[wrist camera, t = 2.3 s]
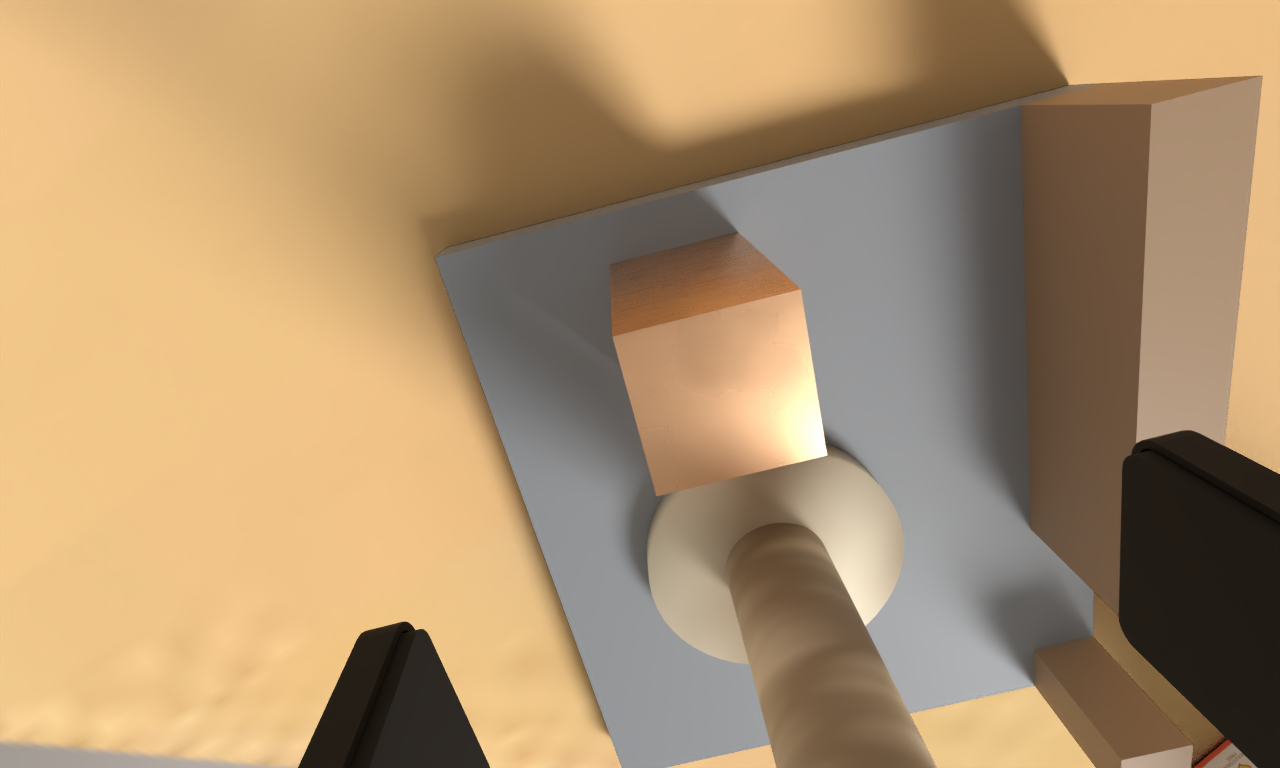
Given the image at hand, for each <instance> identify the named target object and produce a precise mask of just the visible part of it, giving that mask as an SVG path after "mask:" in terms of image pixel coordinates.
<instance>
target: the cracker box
mask: <svg viewBox="0 0 1280 768" xmlns="http://www.w3.org/2000/svg"><path fill="white" fill-rule="evenodd" d="M1193 768H1257V767H1256V766H1255V765H1254V764H1253V763H1252V762H1251V761H1250V760H1249V759H1248V758H1247V757H1246V756H1245V755H1244V754H1243V753H1242V752H1241V751H1240V750H1239V749H1238V748H1236V747H1235V746H1234V745H1233V744H1232V743H1231V742H1230V741H1229V740H1228V739H1227V740H1226V741H1225V742H1224V743H1222V744H1221V745H1220V746H1219V747H1218V748H1217V749H1215V750H1214V751H1213V752H1212V753H1211V754H1210V755H1208V756H1207V757H1206V758H1204V759H1203V760H1202V761H1201V762H1200V763H1198V764H1197V765H1196V766H1195V767H1193Z"/></svg>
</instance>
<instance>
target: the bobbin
mask: <svg viewBox="0 0 1280 768" xmlns="http://www.w3.org/2000/svg"><path fill="white" fill-rule="evenodd" d="M825 445H826V452H827V456H823V457H819V458H815V459H810V460H806V461H802V462H798V463H794V464H790V465H785V466H781V467H777V468H773V469H769V470H765V471H760V472H756V473H752V474H748V475H744V476H740V477H735V478H731V479H727V480H723V481H719V482H715V483H710V484H706V485H702V486H698V487H694V488H690V489H685V490H681V491H677V492H673V493H669V494H665V495H664V496H663V498H662V500H661V501H660V503H659V505H658V506H657V508H656V511H655V513H654V515H653V518H652V520H651V524H650V528H649V532H648V537H647V547H646V549H647V565H648V575H649V584H650V588H651V593H652V597H653V599H654V602H655V604H656V607H657V609H658V611H659V612H660V614H661V616H662V618H663V619H664V621H665V622H666V623H667V624H668V626H669V627H670V628H671V629H672V630H673V631H674V632H675V633H676V634H677V635H678V636H679V637H680V638H681V639H682V640H684V641H685V642H687V643H688V644H690V645H691V646H692V647H694V648H696V649H698V650H700V651H702V652H704V653H706V654H708V655H710V656H713V657H716V658H719V659H722V660H726V661H730V662H734V663H741V664H748V665H750V668H751V672H752V676H753V680H754V684H755V687H756V691H757V695H758V699H759V703H760V706H761V710H762V714H763V718H764V721H765V725H766V729H767V733H768V737H769V740H770V744H771V748H772V752H773V756H774V759H775V763H776V767H777V768H937V767H936V765H935V763H934V761H933V759H932V757H931V755H930V753H929V751H928V749H927V747H926V745H925V743H924V741H923V739H922V737H921V735H920V733H919V731H918V729H917V727H916V725H915V723H914V721H913V719H912V717H911V715H910V713H909V711H908V709H907V707H906V705H905V703H904V701H903V699H902V697H901V696H900V694H899V692H898V690H897V688H896V686H895V684H894V682H893V680H892V678H891V676H890V674H889V672H888V670H887V668H886V666H885V664H884V662H883V660H882V658H881V656H880V654H879V652H878V650H877V648H876V646H875V644H874V642H873V640H872V638H871V636H870V634H869V632H868V630H867V628H866V625H867V624H868V623H869V622H870V621H871V620H872V619H873V618H874V617H875V616H876V615H877V614H878V612H879V611H880V610H881V608H882V607H883V606H884V605H885V603H886V602H887V600H888V598H889V597H890V595H891V593H892V592H893V590H894V587H895V585H896V583H897V581H898V578H899V575H900V571H901V568H902V564H903V556H904V535H903V530H902V525H901V522H900V519H899V516H898V514H897V511H896V509H895V507H894V505H893V504H892V502H891V500H890V498H889V497H888V496H887V494H886V493H885V492H884V490H883V489H882V487H881V486H880V485H879V483H878V482H877V481H876V479H875V478H874V477H873V476H872V474H871V473H870V472H869V471H868V470H867V468H865V467H864V466H863V465H862V464H861V463H860V462H859V461H858V460H857V459H855V458H854V457H852V456H851V455H849V454H848V453H846V452H845V451H843V450H841V449H839V448H836V447H834V446H832V445H830V444H827V443H825Z"/></svg>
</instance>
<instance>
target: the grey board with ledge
mask: <svg viewBox="0 0 1280 768" xmlns="http://www.w3.org/2000/svg"><path fill="white" fill-rule="evenodd" d="M1262 77H1263V76H1245V77H1224V78H1204V79H1183V80H1163V81H1142V82H1122V83H1101V84H1080V85H1069V86H1065V87H1061V88H1057V89H1053V90H1049V91H1046V92H1042V93H1038V94H1034V95H1030V96H1026V97H1023V98H1019V99H1015V100H1011V101H1007V102H1003V103H1000V104H996V105H992V106H988V107H984V108H980V109H977V110H973V111H969V112H965V113H961V114H957V115H954V116H950V117H946V118H942V119H938V120H934V121H931V122H927V123H923V124H919V125H915V126H911V127H908V128H904V129H900V130H896V131H892V132H888V133H885V134H881V135H877V136H873V137H869V138H865V139H862V140H858V141H854V142H850V143H846V144H842V145H839V146H835V147H831V148H827V149H823V150H819V151H816V152H812V153H808V154H804V155H800V156H796V157H793V158H789V159H785V160H781V161H777V162H773V163H770V164H766V165H762V166H758V167H754V168H750V169H747V170H743V171H739V172H735V173H731V174H727V175H723V176H720V177H716V178H712V179H708V180H704V181H700V182H697V183H693V184H689V185H685V186H681V187H677V188H674V189H670V190H666V191H662V192H658V193H654V194H651V195H647V196H643V197H639V198H635V199H631V200H628V201H624V202H620V203H616V204H612V205H608V206H605V207H601V208H597V209H593V210H589V211H585V212H582V213H578V214H574V215H570V216H566V217H562V218H559V219H555V220H551V221H547V222H543V223H539V224H536V225H532V226H528V227H524V228H520V229H516V230H513V231H509V232H505V233H501V234H497V235H493V236H490V237H486V238H482V239H478V240H474V241H470V242H467V243H463V244H459V245H455V246H451V247H447V248H445V249H444V250H443V251H441V252H440V253H439V254H438V255H437V256H436V257H435V261H436V263H437V266H438V269H439V272H440V274H441V277H442V280H443V282H444V285H445V288H446V291H447V293H448V296H449V299H450V301H451V304H452V307H453V310H454V312H455V315H456V318H457V321H458V323H459V326H460V329H461V331H462V334H463V337H464V340H465V342H466V345H467V348H468V350H469V353H470V356H471V359H472V361H473V364H474V367H475V370H476V372H477V375H478V378H479V380H480V383H481V386H482V389H483V391H484V394H485V397H486V399H487V402H488V405H489V408H490V410H491V413H492V416H493V418H494V421H495V424H496V427H497V429H498V432H499V435H500V438H501V440H502V443H503V446H504V448H505V451H506V454H507V457H508V459H509V462H510V465H511V467H512V470H513V473H514V476H515V478H516V481H517V484H518V487H519V489H520V492H521V495H522V497H523V500H524V503H525V506H526V508H527V511H528V514H529V516H530V519H531V522H532V525H533V527H534V530H535V533H536V535H537V538H538V541H539V544H540V546H541V549H542V552H543V555H544V557H545V560H546V563H547V565H548V568H549V571H550V574H551V576H552V579H553V582H554V584H555V587H556V590H557V593H558V595H559V598H560V601H561V603H562V606H563V609H564V612H565V614H566V617H567V620H568V623H569V625H570V628H571V631H572V633H573V636H574V639H575V642H576V644H577V647H578V650H579V652H580V655H581V658H582V661H583V663H584V666H585V669H586V672H587V674H588V677H589V680H590V682H591V685H592V688H593V691H594V693H595V696H596V699H597V701H598V704H599V707H600V710H601V712H602V715H603V718H604V720H605V723H606V726H607V729H608V731H609V734H610V737H611V740H612V742H613V745H614V748H615V750H616V753H617V756H618V759H619V761H620V764H621V767H622V768H666V767H670V766H675V765H679V764H684V763H688V762H693V761H697V760H702V759H706V758H711V757H715V756H720V755H724V754H729V753H733V752H738V751H742V750H747V749H751V748H756V747H760V746H765V745H769V744H770V740H769V737H768V733H767V729H766V725H765V721H764V718H763V714H762V710H761V706H760V703H759V699H758V695H757V691H756V687H755V684H754V680H753V676H752V672H751V668H750V665H748V664H741V663H734V662H730V661H726V660H722V659H719V658H716V657H713V656H710V655H708V654H706V653H704V652H702V651H700V650H698V649H696V648H694V647H692V646H691V645H690V644H688V643H687V642H685V641H684V640H682V639H681V638H680V637H679V636H678V635H677V634H676V633H675V632H674V631H673V630H672V629H671V628H670V627H669V626H668V624H667V623H666V622H665V621H664V619H663V618H662V616H661V614H660V612H659V611H658V609H657V607H656V604H655V602H654V599H653V597H652V593H651V588H650V584H649V575H648V565H647V549H646V547H647V537H648V532H649V528H650V524H651V520H652V518H653V515H654V513H655V511H656V508H657V506H658V505H659V503H660V501H661V500H662V498H663V496H664V495H660V496H656V492H655V489H654V485H653V482H652V478H651V474H650V471H649V467H648V464H647V460H646V456H645V453H644V449H643V445H642V442H641V438H640V435H639V431H638V427H637V424H636V420H635V417H634V413H633V409H632V406H631V402H630V399H629V395H628V391H627V388H626V384H625V380H624V377H623V373H622V370H621V366H620V362H619V359H618V355H617V352H616V348H615V344H614V341H613V337H612V316H611V293H610V269H609V264H613V263H617V262H621V261H624V260H628V259H632V258H636V257H640V256H644V255H648V254H652V253H656V252H660V251H663V250H667V249H671V248H675V247H679V246H683V245H687V244H691V243H695V242H698V241H702V240H706V239H710V238H714V237H718V236H722V235H726V234H730V233H734V232H737V231H738V232H739V233H740V234H741V235H742V236H743V237H744V238H746V239H747V240H748V241H749V242H750V243H751V244H752V245H753V246H754V247H755V248H757V249H758V250H759V251H760V252H761V253H762V254H763V255H764V256H765V257H766V258H767V259H769V260H770V261H771V262H772V263H773V264H774V265H775V266H776V267H777V268H778V269H779V270H781V271H782V272H783V273H784V274H785V275H786V276H787V277H788V278H789V279H790V280H792V281H793V282H794V283H795V284H796V285H797V286H798V287H799V288H800V289H801V293H802V299H803V305H804V312H805V318H806V324H807V331H808V337H809V344H810V350H811V356H812V363H813V369H814V375H815V382H816V388H817V395H818V401H819V407H820V414H821V420H822V426H823V433H824V439H825V443H827V444H830V445H832V446H834V447H836V448H839V449H841V450H843V451H845V452H846V453H848V454H849V455H851V456H852V457H854V458H855V459H857V460H858V461H859V462H860V463H861V464H862V465H863V466H864V467H865V468H867V470H868V471H869V472H870V473H871V474H872V476H873V477H874V478H875V479H876V481H877V482H878V483H879V485H880V486H881V487H882V489H883V490H884V492H885V493H886V494H887V496H888V497H889V498H890V500H891V502H892V504H893V505H894V507H895V509H896V511H897V514H898V516H899V519H900V522H901V525H902V530H903V535H904V556H903V564H902V568H901V571H900V575H899V578H898V581H897V583H896V585H895V587H894V590H893V592H892V593H891V595H890V597H889V598H888V600H887V602H886V603H885V605H884V606H883V607H882V608H881V610H880V611H879V612H878V614H877V615H876V616H875V617H874V618H873V619H872V620H871V621H870V622H869V623H868V624H867V625H866V628H867V630H868V632H869V634H870V636H871V638H872V640H873V642H874V644H875V646H876V648H877V650H878V652H879V654H880V656H881V658H882V660H883V662H884V664H885V666H886V668H887V670H888V672H889V674H890V676H891V678H892V680H893V682H894V684H895V686H896V688H897V690H898V692H899V694H900V696H901V697H902V699H903V701H904V703H905V705H906V707H907V709H908V711H909V713H914V712H918V711H923V710H927V709H932V708H936V707H941V706H945V705H950V704H954V703H959V702H964V701H968V700H973V699H977V698H982V697H986V696H991V695H995V694H1000V693H1004V692H1009V691H1013V690H1018V689H1022V688H1027V687H1031V686H1035V687H1036V688H1037V689H1038V691H1039V692H1040V693H1041V695H1042V696H1043V697H1044V699H1045V700H1046V701H1047V703H1048V704H1049V705H1050V707H1051V708H1052V709H1053V711H1054V712H1055V713H1056V715H1057V716H1058V718H1059V719H1060V720H1061V722H1062V723H1063V724H1064V726H1065V727H1066V728H1067V730H1068V731H1069V732H1070V734H1071V735H1072V736H1073V738H1074V739H1075V740H1076V742H1077V743H1078V744H1079V746H1080V747H1081V748H1082V750H1083V751H1084V752H1085V754H1086V755H1087V756H1088V758H1089V759H1090V760H1091V762H1092V763H1093V764H1094V766H1095V767H1096V768H1191V763H1192V753H1193V744H1192V743H1191V742H1190V741H1189V740H1188V738H1187V737H1186V736H1185V735H1184V734H1183V733H1182V732H1181V731H1180V730H1179V729H1178V728H1177V727H1176V726H1175V724H1174V723H1173V722H1172V721H1171V720H1170V719H1169V718H1168V717H1167V716H1166V715H1165V714H1164V713H1163V711H1162V710H1161V709H1160V708H1159V707H1158V706H1157V705H1156V704H1155V703H1154V702H1153V701H1152V700H1151V699H1150V697H1149V696H1148V695H1147V694H1146V693H1145V692H1144V691H1143V690H1142V689H1141V688H1140V687H1139V686H1138V685H1137V683H1136V682H1135V681H1134V680H1133V679H1132V678H1131V677H1130V676H1129V675H1128V674H1127V673H1126V672H1125V671H1124V669H1123V668H1122V667H1121V666H1120V665H1119V664H1118V663H1117V662H1116V661H1115V660H1114V659H1113V658H1112V656H1111V655H1110V654H1109V653H1108V652H1107V651H1106V650H1105V649H1104V648H1103V647H1102V646H1101V645H1100V644H1099V642H1098V641H1097V640H1096V639H1095V638H1094V637H1093V618H1094V592H1095V593H1096V594H1097V595H1098V596H1099V597H1100V598H1101V599H1102V600H1103V601H1104V602H1105V603H1106V604H1107V605H1108V606H1109V607H1110V608H1111V609H1112V610H1113V611H1114V612H1115V613H1116V614H1117V615H1118V616H1119V578H1120V536H1121V494H1122V465H1123V461H1124V460H1125V458H1126V457H1128V456H1129V455H1131V453H1132V449H1133V447H1134V446H1135V444H1136V443H1138V442H1140V441H1141V440H1145V439H1149V438H1153V437H1158V436H1162V435H1166V434H1170V433H1174V432H1178V431H1182V430H1192V431H1195V432H1197V433H1200V434H1202V435H1204V436H1206V437H1208V438H1210V439H1212V440H1214V441H1216V442H1218V443H1219V444H1221V445H1223V446H1224V444H1225V434H1226V425H1227V415H1228V405H1229V396H1230V386H1231V376H1232V367H1233V357H1234V347H1235V338H1236V328H1237V318H1238V309H1239V299H1240V289H1241V280H1242V270H1243V260H1244V251H1245V241H1246V231H1247V222H1248V212H1249V202H1250V193H1251V183H1252V173H1253V164H1254V154H1255V144H1256V135H1257V125H1258V115H1259V106H1260V96H1261V86H1262Z"/></svg>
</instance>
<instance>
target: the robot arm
mask: <svg viewBox="0 0 1280 768" xmlns="http://www.w3.org/2000/svg"><path fill="white" fill-rule="evenodd" d="M1119 622H1120V625H1121V628H1122V631H1123V633H1124V635H1125V636H1126V638H1127V639H1128V641H1129V642H1130V644H1131V645H1132V646H1133V647H1134V648H1135V649H1136V650H1137V651H1138V652H1139V653H1140V654H1141V655H1142V656H1143V657H1144V658H1145V659H1146V660H1147V661H1148V662H1149V663H1150V664H1151V665H1152V666H1153V667H1154V668H1155V669H1156V670H1157V671H1158V672H1160V673H1161V674H1162V675H1163V676H1164V677H1165V678H1166V679H1167V680H1168V681H1169V682H1170V683H1171V684H1172V685H1173V686H1174V687H1175V688H1176V689H1177V690H1178V691H1179V692H1180V693H1181V694H1182V695H1183V696H1184V697H1185V698H1186V699H1187V700H1188V701H1189V702H1190V703H1191V704H1192V705H1193V706H1194V707H1195V708H1196V709H1197V710H1199V711H1200V712H1201V713H1202V714H1203V715H1204V716H1205V717H1206V718H1207V719H1208V720H1209V721H1210V722H1211V723H1212V724H1213V725H1214V726H1215V727H1216V728H1217V729H1218V730H1219V731H1220V732H1221V733H1222V734H1223V735H1224V736H1225V737H1226V738H1227V739H1228V740H1229V741H1230V742H1231V743H1232V744H1233V745H1234V746H1235V747H1236V748H1238V749H1239V750H1240V751H1241V752H1242V753H1243V754H1244V755H1245V756H1246V757H1247V758H1248V759H1249V760H1250V761H1251V762H1252V763H1253V764H1254V765H1255V766H1256V767H1257V768H1280V474H1278V473H1276V472H1274V471H1272V470H1270V469H1268V468H1266V467H1264V466H1262V465H1260V464H1258V463H1256V462H1255V461H1253V460H1251V459H1249V458H1247V457H1245V456H1243V455H1241V454H1239V453H1237V452H1235V451H1233V450H1231V449H1229V448H1227V447H1225V446H1223V445H1221V444H1219V443H1218V442H1216V441H1214V440H1212V439H1210V438H1208V437H1206V436H1204V435H1202V434H1200V433H1197V432H1195V431H1192V430H1182V431H1178V432H1174V433H1170V434H1166V435H1162V436H1158V437H1153V438H1149V439H1145V440H1141V441H1140V442H1138V443H1136V444H1135V446H1134V447H1133V449H1132V453H1131V455H1129V456H1128V457H1126V458H1125V460H1124V461H1123V465H1122V494H1121V536H1120V578H1119ZM298 768H490V766H489V764H488V762H487V759H486V757H485V755H484V753H483V751H482V749H481V747H480V744H479V742H478V740H477V738H476V736H475V734H474V731H473V729H472V727H471V725H470V723H469V721H468V718H467V716H466V714H465V712H464V710H463V708H462V706H461V703H460V701H459V699H458V697H457V695H456V693H455V690H454V688H453V686H452V684H451V682H450V680H449V677H448V675H447V673H446V671H445V669H444V667H443V665H442V662H441V660H440V658H439V656H438V654H437V652H436V649H435V647H434V645H433V643H432V641H431V639H430V637H429V635H428V633H427V632H426V631H425V630H424V629H419V630H415V629H414V628H413V626H412V625H411V624H410V623H408V622H400V623H396V624H392V625H388V626H384V627H380V628H376V629H372V630H368V631H365V632H363V633H361V634H360V636H359V637H358V639H357V641H356V643H355V645H354V647H353V649H352V652H351V654H350V656H349V658H348V660H347V662H346V665H345V667H344V669H343V671H342V673H341V675H340V678H339V680H338V682H337V684H336V686H335V689H334V691H333V693H332V695H331V697H330V699H329V702H328V704H327V706H326V708H325V710H324V712H323V715H322V717H321V719H320V721H319V723H318V725H317V728H316V730H315V732H314V734H313V736H312V739H311V741H310V743H309V745H308V747H307V749H306V752H305V754H304V756H303V758H302V760H301V762H300V765H299V767H298Z"/></svg>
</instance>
